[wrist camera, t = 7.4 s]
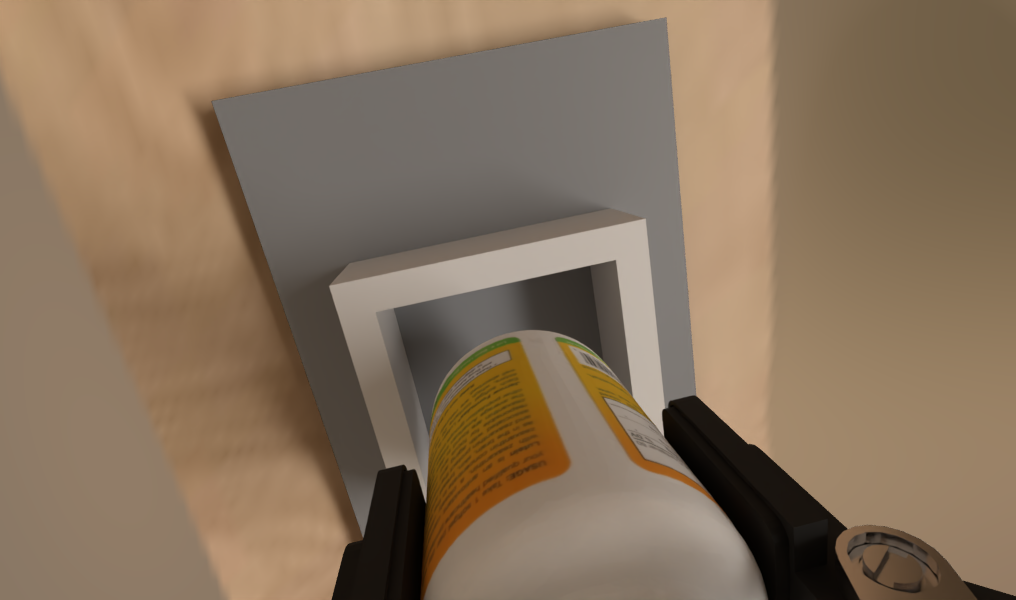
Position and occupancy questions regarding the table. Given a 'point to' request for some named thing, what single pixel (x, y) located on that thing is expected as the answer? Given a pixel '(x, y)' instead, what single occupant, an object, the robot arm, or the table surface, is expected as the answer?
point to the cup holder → (469, 226)
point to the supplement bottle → (565, 488)
